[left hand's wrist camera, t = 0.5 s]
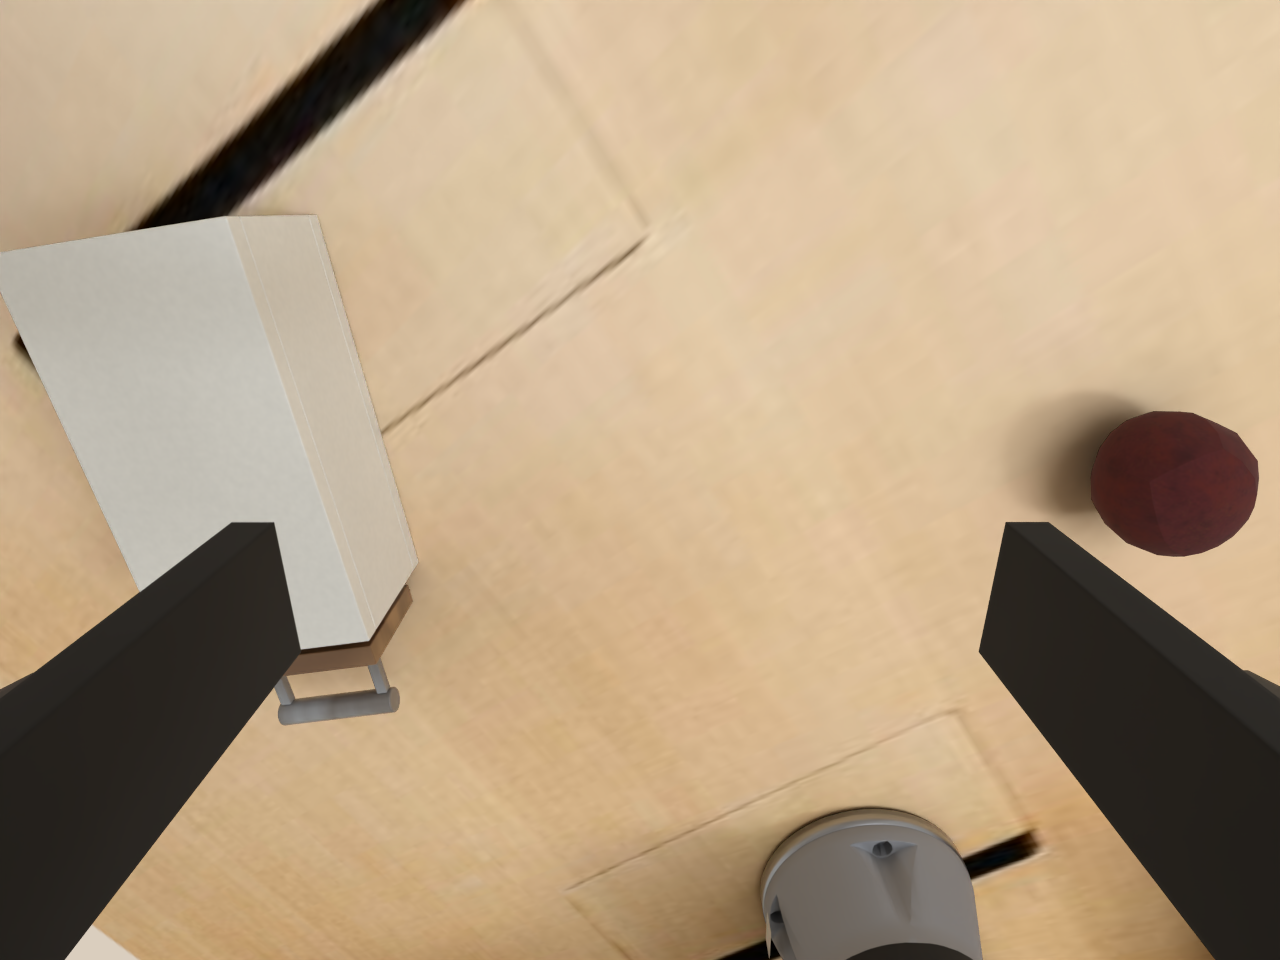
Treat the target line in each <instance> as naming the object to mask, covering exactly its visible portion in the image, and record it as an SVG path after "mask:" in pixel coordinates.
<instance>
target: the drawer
mask: <svg viewBox="0 0 1280 960" xmlns="http://www.w3.org/2000/svg"><path fill="white" fill-rule="evenodd" d="M412 602H413V600H412V597H411V593H410V590H409V587H408V585H404V586H403V588H402V589H401V591H400V592H399V594H398V596H397V597H396V599H395V600H394V602H393V603H392V605H391V607H390V608H389V610H388V611H387V613H386V615H385V616H384V618H383V619H382V621H381V623H380V624H379V626H378V627H377V629H376V631H375V632H374V634H373V635H372V637H371V639H370V640H369V641H365V642H357V643H349V644H341V645H333V646H325V647H317V648H309V649H301V653H300V654H299V655H298V657H297V658H296V659H295V661H294V662H293V663H292V665H291V666H290V667H289V668H288V670H287V671H286V672H285V674H284V675H283V676H282V678H281V679H280V680H279V681H278V683H277V684H276V685H275V687H274V688H275V690H276V693H277V695H278V698H279V700H280V703H281V704H280V706H279V710H278V718H279V721H280V723H281V724H282V725H292V724H301V723H309V722H318V721H326V720H334V719H343V718H351V717H359V716H368V715H376V714H384V713H393V712H396V711H397V710H398V708H399V704H400V696H399V691H398V689H397V688H396V687H390V685H389V682H388V679H387V676H386V673H385V670H384V667H383V664H382V661H381V658H380V657H381V655H382V654H383V652H384V650H385V648H386V647H387V645H388V643H389V642H390V640H391V638H392V636H393V635H394V633H395V631H396V629H397V628H398V626H399V624H400V623H401V621H402V619H403V617H404V616H405V614H406V612H407V611H408V609H409V607H410V605H411V604H412ZM360 666H368V668H369V671H370V674H371V677H372V680H373V683H374V686H375V689H373V690H364V691H356V692H348V693H340V694H332V695H323V696H315V697H307V698H299V699H295V696H294V694H293V691H292V689H291V686H290V684H289V681H288V679H287V676H288V675H296V674H304V673H312V672H320V671H328V670H336V669H344V668H352V667H360Z"/></svg>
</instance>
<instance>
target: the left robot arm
mask: <svg viewBox="0 0 1280 960" xmlns="http://www.w3.org/2000/svg"><path fill="white" fill-rule="evenodd" d="M300 653H301V648H300V643H299V639H298V634H297V629H296V624H295V619H294V615H293V610H292V605H291V600H290V595H289V591H288V586H287V581H286V576H285V571H284V567H283V562H282V557H281V552H280V547H279V543H278V538H277V533H276V528H275V523H274V522H231V523H230V524H229V525H227V526H226V527H225V528H223V529H222V530H221V531H219V532H218V533H217V534H215V535H214V536H213V537H211V538H210V539H209V540H208V541H206V542H205V543H204V544H202V545H201V546H200V547H198V548H197V549H196V550H194V551H193V552H192V553H190V554H189V555H188V556H187V557H185V558H184V559H183V560H181V561H180V562H179V563H177V564H176V565H175V566H173V567H172V568H171V569H169V570H168V571H167V572H166V573H164V574H163V575H162V576H160V577H159V578H158V579H156V580H155V581H154V582H152V583H151V584H150V585H148V586H147V587H146V588H145V589H143V590H142V591H141V592H139V593H138V594H137V595H135V596H134V597H133V598H131V599H130V600H129V601H127V602H126V603H125V604H124V605H122V606H121V607H120V608H118V609H117V610H116V611H114V612H113V613H112V614H110V615H109V616H108V617H106V618H105V619H104V620H103V621H101V622H100V623H99V624H97V625H96V626H95V627H93V628H92V629H91V630H89V631H88V632H87V633H85V634H84V635H83V636H82V637H80V638H79V639H78V640H76V641H75V642H74V643H72V644H71V645H70V646H68V647H67V648H66V649H64V650H63V651H62V652H61V653H59V654H58V655H57V656H55V657H54V658H53V659H51V660H50V661H49V662H47V663H46V664H45V665H44V666H42V667H41V668H40V669H38V670H37V671H36V672H34V673H32V674H30V675H28V676H26V677H24V678H22V679H20V680H18V681H16V682H14V683H12V684H10V685H8V686H6V687H4V688H2V689H0V960H65V959H66V957H67V956H68V955H69V953H70V952H71V951H72V950H73V948H74V947H75V946H76V944H77V943H78V942H79V940H80V939H81V938H82V936H83V935H84V934H85V932H86V931H87V930H88V929H89V927H90V926H91V925H92V923H93V922H94V921H95V920H96V918H97V917H98V916H99V914H100V913H101V912H102V910H103V909H104V908H105V907H106V905H107V904H108V903H109V901H110V900H111V899H112V897H113V896H114V895H115V894H116V892H117V891H118V890H119V888H120V887H121V886H122V884H123V883H124V882H125V881H126V879H127V878H128V877H129V875H130V874H131V873H132V871H133V870H134V869H135V868H136V866H137V865H138V864H139V862H140V861H141V860H142V858H143V857H144V856H145V855H146V853H147V852H148V851H149V849H150V848H151V847H152V845H153V844H154V843H155V841H156V840H157V839H158V838H159V836H160V835H161V834H162V832H163V831H164V830H165V828H166V827H167V826H168V825H169V823H170V822H171V821H172V819H173V818H174V817H175V815H176V814H177V813H178V812H179V810H180V809H181V808H182V806H183V805H184V804H185V802H186V801H187V800H188V799H189V797H190V796H191V795H192V793H193V792H194V791H195V789H196V788H197V787H198V786H199V784H200V783H201V782H202V780H203V779H204V778H205V776H206V775H207V774H208V773H209V771H210V770H211V769H212V767H213V766H214V765H215V763H216V762H217V761H218V760H219V758H220V757H221V756H222V754H223V753H224V752H225V750H226V749H227V748H228V746H229V745H230V744H231V743H232V741H233V740H234V739H235V737H236V736H237V735H238V733H239V732H240V731H241V730H242V728H243V727H244V726H245V724H246V723H247V722H248V720H249V719H250V718H251V717H252V715H253V714H254V713H255V711H256V710H257V709H258V707H259V706H260V705H261V704H262V702H263V701H264V700H265V698H266V697H267V696H268V694H269V693H270V692H271V691H272V689H273V688H274V687H275V685H276V684H277V683H278V681H279V680H280V679H281V678H282V676H283V675H284V674H285V672H286V671H287V670H288V668H289V667H290V666H291V665H292V663H293V662H294V661H295V659H296V658H297V657H298V655H299V654H300ZM979 653H980V654H981V655H982V657H983V658H984V659H985V661H986V662H987V663H988V665H989V666H990V667H991V668H992V670H993V671H994V672H995V674H996V675H997V676H998V678H999V679H1000V680H1001V681H1002V683H1003V684H1004V685H1005V687H1006V688H1007V689H1008V691H1009V692H1010V693H1011V694H1012V696H1013V697H1014V698H1015V700H1016V701H1017V702H1018V704H1019V705H1020V706H1021V707H1022V709H1023V710H1024V711H1025V713H1026V714H1027V715H1028V717H1029V718H1030V719H1031V720H1032V722H1033V723H1034V724H1035V726H1036V727H1037V728H1038V730H1039V731H1040V732H1041V733H1042V735H1043V736H1044V737H1045V739H1046V740H1047V741H1048V743H1049V744H1050V745H1051V746H1052V748H1053V749H1054V750H1055V752H1056V753H1057V754H1058V756H1059V757H1060V758H1061V760H1062V761H1063V762H1064V763H1065V765H1066V766H1067V767H1068V769H1069V770H1070V771H1071V773H1072V774H1073V775H1074V776H1075V778H1076V779H1077V780H1078V782H1079V783H1080V784H1081V786H1082V787H1083V788H1084V789H1085V791H1086V792H1087V793H1088V795H1089V796H1090V797H1091V799H1092V800H1093V801H1094V802H1095V804H1096V805H1097V806H1098V808H1099V809H1100V810H1101V812H1102V813H1103V814H1104V815H1105V817H1106V818H1107V819H1108V821H1109V822H1110V823H1111V825H1112V826H1113V827H1114V828H1115V830H1116V831H1117V832H1118V834H1119V835H1120V836H1121V838H1122V839H1123V840H1124V841H1125V843H1126V844H1127V845H1128V847H1129V848H1130V849H1131V851H1132V852H1133V853H1134V855H1135V856H1136V857H1137V858H1138V860H1139V861H1140V862H1141V864H1142V865H1143V866H1144V868H1145V869H1146V870H1147V871H1148V873H1149V874H1150V875H1151V877H1152V878H1153V879H1154V881H1155V882H1156V883H1157V884H1158V886H1159V887H1160V888H1161V890H1162V891H1163V892H1164V894H1165V895H1166V896H1167V897H1168V899H1169V900H1170V901H1171V903H1172V904H1173V905H1174V907H1175V908H1176V909H1177V910H1178V912H1179V913H1180V914H1181V916H1182V917H1183V918H1184V920H1185V921H1186V922H1187V923H1188V925H1189V926H1190V927H1191V929H1192V930H1193V931H1194V933H1195V934H1196V935H1197V936H1198V938H1199V939H1200V940H1201V942H1202V943H1203V944H1204V946H1205V947H1206V948H1207V950H1208V951H1209V952H1210V953H1211V955H1212V956H1213V957H1214V959H1215V960H1280V686H1278V685H1276V684H1274V683H1272V682H1270V681H1268V680H1266V679H1264V678H1262V677H1260V676H1258V675H1256V674H1254V673H1252V672H1250V671H1248V670H1242V669H1240V668H1239V667H1238V666H1236V665H1235V664H1234V663H1233V662H1231V661H1230V660H1229V659H1227V658H1226V657H1225V656H1223V655H1222V654H1221V653H1219V652H1218V651H1217V650H1216V649H1214V648H1213V647H1212V646H1210V645H1209V644H1208V643H1206V642H1205V641H1204V640H1202V639H1201V638H1200V637H1198V636H1197V635H1196V634H1195V633H1193V632H1192V631H1191V630H1189V629H1188V628H1187V627H1185V626H1184V625H1183V624H1181V623H1180V622H1179V621H1177V620H1176V619H1175V618H1174V617H1172V616H1171V615H1170V614H1168V613H1167V612H1166V611H1164V610H1163V609H1162V608H1160V607H1159V606H1158V605H1156V604H1155V603H1154V602H1153V601H1151V600H1150V599H1149V598H1147V597H1146V596H1145V595H1143V594H1142V593H1141V592H1139V591H1138V590H1137V589H1135V588H1134V587H1133V586H1132V585H1130V584H1129V583H1128V582H1126V581H1125V580H1124V579H1122V578H1121V577H1120V576H1118V575H1117V574H1116V573H1114V572H1113V571H1112V570H1111V569H1109V568H1108V567H1107V566H1105V565H1104V564H1103V563H1101V562H1100V561H1099V560H1097V559H1096V558H1095V557H1093V556H1092V555H1091V554H1090V553H1088V552H1087V551H1086V550H1084V549H1083V548H1082V547H1080V546H1079V545H1078V544H1076V543H1075V542H1074V541H1072V540H1071V539H1070V538H1069V537H1067V536H1066V535H1065V534H1063V533H1062V532H1061V531H1059V530H1058V529H1057V528H1055V527H1054V526H1053V525H1051V524H1050V523H1049V522H1006V523H1005V528H1004V533H1003V538H1002V543H1001V547H1000V552H999V557H998V562H997V567H996V571H995V576H994V581H993V586H992V591H991V595H990V600H989V605H988V610H987V615H986V619H985V624H984V629H983V634H982V639H981V643H980V648H979Z"/></svg>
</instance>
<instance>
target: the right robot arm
mask: <svg viewBox="0 0 1280 960" xmlns="http://www.w3.org/2000/svg"><path fill="white" fill-rule="evenodd" d="M760 895H761V902H762V908H763V914H764V918H765V922H766V942H767V948H768V953H769V959H770V943H771V938H772V940H773V942H774V944H775V946H776V948H777V950H778V952H779V954H780V955H781V957H782V959H783V960H983V958H982V950H981V943H980V935H979V927H978V920H977V912H976V905H975V897H974V890H973V886H972V883H971V880H970V877H969V873H968V870H967V868H966V866H965V864H964V862H963V860H962V858H961V855H960V853H959V851H958V850H957V848H956V846H955V845H954V843H953V842H952V841H951V839H950V838H949V837H948V836H947V835H946V834H945V833H944V832H943V831H942V830H940V829H939V828H938V827H936V826H935V825H933V824H932V823H930V822H928V821H926V820H924V819H922V818H919V817H917V816H914V815H911V814H908V813H904V812H899V811H894V810H885V809H861V810H852V811H847V812H842V813H838V814H834V815H831V816H828V817H825V818H822V819H820V820H817V821H815V822H813V823H811V824H809V825H807V826H805V827H803V828H802V829H800V830H798V831H797V832H795V833H794V834H793V835H791V836H790V837H789V838H788V839H786V840H785V841H784V842H783V843H782V844H781V845H780V846H779V847H778V848H777V850H776V851H775V852H774V853H773V855H772V856H771V857H770V859H769V861H768V863H767V864H766V867H765V869H764V871H763V875H762V878H761V885H760Z"/></svg>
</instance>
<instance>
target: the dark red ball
mask: <svg viewBox="0 0 1280 960" xmlns="http://www.w3.org/2000/svg"><path fill="white" fill-rule="evenodd" d="M1258 482H1259V473H1258V461H1257V459H1256V458H1255V457H1254V455H1253V454H1252V453H1251V451H1250V450H1249V449H1248V447H1247V446H1246V445H1245V443H1244V442H1243V441H1242V439H1241V438H1240V437H1239V435H1238V434H1237V433H1236V432H1234V431H1232V430H1229V429H1227V428H1225V427H1223V426H1221V425H1219V424H1217V423H1215V422H1213V421H1210V420H1208V419H1206V418H1203V417H1201V416H1199V415H1196V414H1194V413H1187V412H1165V411H1153V412H1150V413H1146V414H1143V415H1140V416H1138V417H1135V418H1132V419H1129V420H1126V421H1125V422H1124V423H1122V424H1121V425H1120V426H1118V427H1117V428H1116V429H1115V430H1113V431H1112V432H1111V433H1110V434H1109V436H1108V437H1107V438H1106V440H1105V441H1104V443H1103V444H1102V445H1101V447H1100V448H1099V451H1098V454H1097V457H1096V460H1095V463H1094V466H1093V469H1092V473H1091V500H1092V501H1093V503H1094V505H1095V507H1096V509H1097V511H1098V513H1099V514H1100V516H1101V518H1102V519H1103V521H1104V523H1105V524H1106V525H1107V526H1108V527H1109V528H1111V529H1112V530H1113V531H1114V532H1115V533H1116V534H1117V535H1118V536H1120V537H1121V538H1122V539H1123V540H1124V541H1125V542H1126V543H1128V544H1131V545H1133V546H1136V547H1138V548H1141V549H1143V550H1146V551H1148V552H1151V553H1154V554H1156V555H1163V556H1173V557H1175V556H1189V555H1194V554H1199V553H1203V552H1205V551H1208V550H1210V549H1213V548H1215V547H1217V546H1219V545H1221V544H1222V543H1224V542H1225V541H1227V540H1228V539H1230V538H1231V537H1233V536H1234V535H1235V534H1236V533H1237V532H1238V531H1239V530H1240V528H1241V527H1242V526H1243V525H1244V524H1245V523H1246V522H1247V520H1248V519H1249V517H1250V515H1251V513H1252V511H1253V509H1254V506H1255V501H1256V497H1257V490H1258Z"/></svg>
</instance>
